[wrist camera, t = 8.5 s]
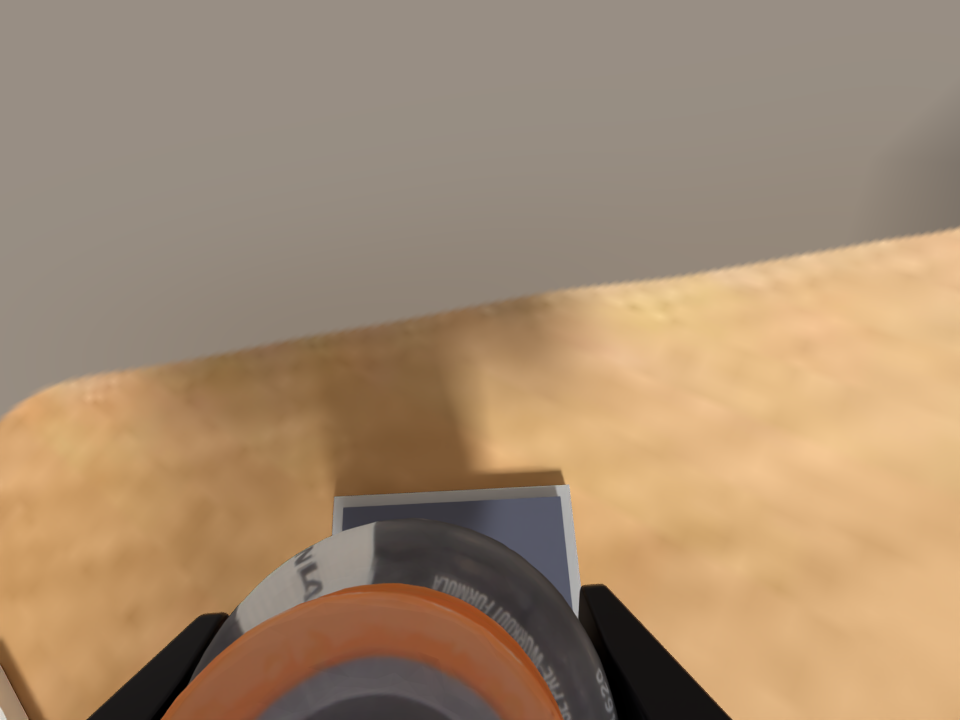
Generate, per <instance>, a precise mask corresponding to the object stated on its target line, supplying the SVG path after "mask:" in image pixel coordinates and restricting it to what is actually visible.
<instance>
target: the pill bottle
mask: <svg viewBox="0 0 960 720" xmlns="http://www.w3.org/2000/svg"><path fill="white" fill-rule="evenodd" d="M161 720H618V716H617V711H616V707H615V703H614V700H613V696H612V693H611V690H610V686H609V683H608V680H607V677H606V674H605V671H604V668H603V665H602V663H601V660H600V658H599V656H598V654H597V652H596V650H595V648H594V646H593V644H592V642H591V640H590V638H589V636H588V634H587V633H586V631H585V629H584V628H583V626H582V624H581V623H580V621H579V619H578V618H577V616H576V615H575V613H574V612H573V610H572V609H571V607H570V606H569V604H568V603H567V602H566V600H565V599H564V597H563V596H562V594H561V593H560V592H559V591H558V590H557V589H556V588H555V587H554V585H553V584H552V583H551V582H550V581H549V580H548V579H547V578H546V577H545V576H544V575H543V574H542V573H541V572H540V571H538V570H537V569H536V568H535V567H534V566H532V565H531V564H530V563H529V562H528V561H527V560H526V559H524V558H523V557H522V556H520V555H519V554H518V553H517V552H515V551H513V550H511V549H509V548H508V547H507V546H506V545H504V544H503V543H501V542H499V541H497V540H495V539H493V538H491V537H489V536H486V535H484V534H481V533H479V532H477V531H474V530H472V529H469V528H465V527H461V526H458V525H454V524H450V523H446V522H442V521H436V520H429V519H421V518H407V519H392V520H385V521H377V522H374V523H370V524H366V525H363V526H359V527H355V528H352V529H348V530H345V531H342V532H340V533H338V534H335V535H333V536H330V537H328V538H326V539H324V540H322V541H320V542H318V543H316V544H314V545H312V546H310V547H308V548H307V549H305V550H303V551H302V552H300V553H298V554H297V555H295V556H294V557H292V558H291V559H289V560H288V561H286V562H285V563H284V564H282V565H281V566H280V567H278V568H277V569H276V570H274V571H273V572H272V573H270V574H269V575H268V576H267V577H266V578H265V579H264V580H263V581H262V582H261V583H259V584H258V585H257V587H256V588H255V589H254V590H253V591H252V592H251V593H250V594H249V595H248V596H247V597H246V598H245V599H244V601H242V602H241V603H240V604H239V605H238V606H237V607H236V609H235V610H234V611H233V612H232V613H231V615H230V616H229V617H228V618H227V620H226V621H225V622H224V624H223V625H222V626H221V628H220V629H219V631H218V632H217V634H216V635H215V637H214V639H213V640H212V642H211V643H210V645H209V646H208V648H207V649H206V651H205V652H204V654H203V656H202V658H201V660H200V662H199V664H198V665H197V667H196V669H195V671H194V673H193V675H192V677H191V679H190V681H189V684H188V686H187V687H186V688H185V689H184V690H183V691H182V692H181V693H180V694H179V696H178V697H177V698H176V699H175V701H174V702H173V703H172V705H171V706H170V707H169V709H168V710H167V712H166V713H165V714H164V716H163V717H162V719H161Z"/></svg>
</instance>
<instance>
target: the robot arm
mask: <svg viewBox="0 0 960 720" xmlns="http://www.w3.org/2000/svg"><path fill="white" fill-rule="evenodd" d="M228 617H229V615H228V614H227V613H224V612H221V613H207V614H203V615H201V616H199V617H197V618H196V619H195V620H194V621H193V622H192V623H191V624H190V625H189V626H188V627H186V628H185V629H184V630H183V631H182V632H181V633H180V634H179V635H178V636H177V637H176V638H174V639H173V640H172V641H171V642H170V643H169V644H168V645H167V646H166V647H165V648H164V649H163V650H161V651H160V652H159V653H158V654H157V655H156V656H155V657H154V658H153V659H152V660H151V661H150V662H148V663H147V664H146V665H145V666H144V667H143V668H142V669H141V670H140V671H139V672H138V673H137V674H135V675H134V676H133V677H132V678H131V679H130V680H129V681H128V682H127V683H126V684H125V685H123V686H122V687H121V688H120V689H119V690H118V691H117V692H116V693H115V694H114V695H113V696H112V697H110V698H109V699H108V700H107V701H106V702H105V703H104V704H103V705H102V706H101V707H100V708H99V709H97V710H96V711H95V712H94V713H93V714H92V715H91V716H90V717H89V718H88V719H87V720H161V719H162V717H163V716H164V714H165V713H166V712H167V710H168V709H169V707H170V706H171V705H172V703H173V702H174V701H175V699H176V698H177V697H178V696H179V694H180V693H181V692H182V691H183V690H184V689H185V688H186V687H187V686H188V684H189V681H190V679H191V677H192V675H193V673H194V671H195V669H196V667H197V665H198V664H199V662H200V660H201V658H202V656H203V654H204V652H205V651H206V649H207V648H208V646H209V645H210V643H211V642H212V640H213V639H214V637H215V635H216V634H217V632H218V631H219V629H220V628H221V626H222V625H223V624H224V622H225V621H226V620H227V618H228ZM578 619H579V621H580V623H581V624H582V626H583V628H584V629H585V631H586V633H587V634H588V636H589V638H590V640H591V642H592V644H593V646H594V648H595V650H596V652H597V654H598V656H599V658H600V660H601V663H602V665H603V668H604V671H605V674H606V677H607V680H608V683H609V686H610V690H611V693H612V696H613V700H614V703H615V707H616V711H617V716H618V720H732V719H731V718H730V717H729V716H728V715H727V713H726V712H725V711H724V710H723V709H722V708H721V707H720V706H719V705H718V704H717V703H716V702H715V701H714V700H713V699H712V698H711V697H710V695H709V694H708V693H707V692H706V691H705V690H704V689H703V688H702V687H701V686H700V685H699V684H698V683H697V682H696V681H695V680H694V678H693V677H692V676H691V675H690V674H689V673H688V672H687V671H686V670H685V669H684V668H683V667H682V666H681V665H680V664H679V663H678V662H677V660H676V659H675V658H674V657H673V656H672V655H671V654H670V653H669V652H668V651H667V650H666V649H665V648H664V647H663V646H662V645H661V644H660V642H659V641H658V640H657V639H656V638H655V637H654V636H653V635H652V634H651V633H650V632H649V631H648V630H647V629H646V628H645V627H644V626H643V624H642V623H641V622H640V621H639V620H638V619H637V618H636V617H635V616H634V615H633V614H632V613H631V612H630V611H629V610H628V609H627V607H626V606H625V605H624V604H623V603H622V602H621V601H620V600H619V599H618V598H617V597H616V596H615V595H614V594H613V593H612V592H611V591H610V589H609V588H608V587H607V586H605V585H603V584H590V585H583V586H582V587H581V588H580V593H579V611H578Z"/></svg>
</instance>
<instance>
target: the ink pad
mask: <svg viewBox="0 0 960 720" xmlns="http://www.w3.org/2000/svg"><path fill="white" fill-rule="evenodd" d="M407 518H421V519H429V520H436V521H442V522H446V523H450V524H454V525H458V526H461V527H465V528H469V529H472V530H474V531H477V532H479V533H481V534H484V535H486V536H489V537H491V538H493V539H495V540H497V541H499V542H501V543H503V544H504V545H506V546H507V547H508V548H509V549H511V550H513V551H515V552H517V553H518V554H519V555H520V556H522V557H523V558H524V559H526V560H527V561H528V562H529V563H530V564H531V565H532V566H534V567H535V568H536V569H537V570H538V571H540V572H541V573H542V574H543V575H544V576H545V577H546V578H547V579H548V580H549V581H550V582H551V583H552V584H553V585H554V587H555V588H556V589H557V590H558V591H559V592H560V593H561V594H562V596H563V597H564V599H565V600H566V602H567V603H568V604H569V606H570V607H571V609H572V610H573V612H574V613H575V615H576V616H577V618H578V611H579V593H580V588H581V583H580V574H579V566H578V557H577V548H576V540H575V531H574V522H573V514H572V505H571V496H570V488H569V485H553V486H534V487H514V488H494V489H475V490H455V491H435V492H416V493H396V494H376V495H357V496H337V497H334V510H333V530H332V536H333V535H335V534H338V533H340V532H342V531H345V530H348V529H352V528H355V527H359V526H363V525H366V524H370V523H374V522H377V521H385V520H392V519H407Z"/></svg>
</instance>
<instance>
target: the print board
mask: <svg viewBox="0 0 960 720" xmlns="http://www.w3.org/2000/svg"><path fill="white" fill-rule="evenodd" d="M0 720H29V719H28V717H27V715H26V713H25V711H24V709H23V707H22V705H21V703H20V701H19V700H18V698H17V696H16V694H15V692H14V690H13V688H12V686H11V684H10V682H9V680H8V678H7V676H6V675H5V673H4V671H3V669H2V667H1V665H0Z"/></svg>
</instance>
